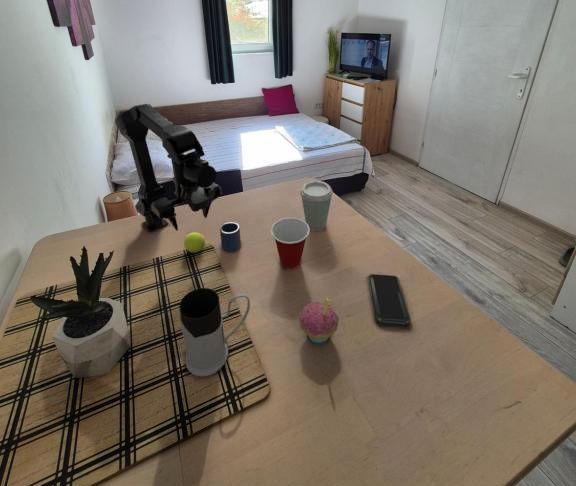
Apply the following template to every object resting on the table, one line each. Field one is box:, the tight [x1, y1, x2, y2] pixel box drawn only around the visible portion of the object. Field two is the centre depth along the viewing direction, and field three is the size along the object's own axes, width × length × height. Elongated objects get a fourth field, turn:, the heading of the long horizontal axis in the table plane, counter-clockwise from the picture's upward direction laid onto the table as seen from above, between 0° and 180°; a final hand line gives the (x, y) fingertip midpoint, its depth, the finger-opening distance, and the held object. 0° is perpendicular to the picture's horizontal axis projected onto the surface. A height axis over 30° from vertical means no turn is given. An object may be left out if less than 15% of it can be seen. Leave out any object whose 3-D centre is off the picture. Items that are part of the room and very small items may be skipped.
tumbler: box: [219, 221, 242, 253], centre depth 100 cm, size 6×6×7 cm
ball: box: [183, 231, 206, 254], centre depth 98 cm, size 6×6×6 cm
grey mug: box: [178, 287, 251, 377], centre depth 66 cm, size 9×14×15 cm, turn 113°
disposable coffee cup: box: [299, 180, 334, 232], centre depth 108 cm, size 11×11×15 cm
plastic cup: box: [270, 216, 311, 270], centre depth 92 cm, size 11×11×12 cm
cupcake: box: [298, 296, 340, 344], centre depth 71 cm, size 9×8×12 cm
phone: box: [368, 273, 411, 327], centre depth 82 cm, size 8×1×15 cm
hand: (191, 223), depth 94 cm, fingers open, 9 cm apart
